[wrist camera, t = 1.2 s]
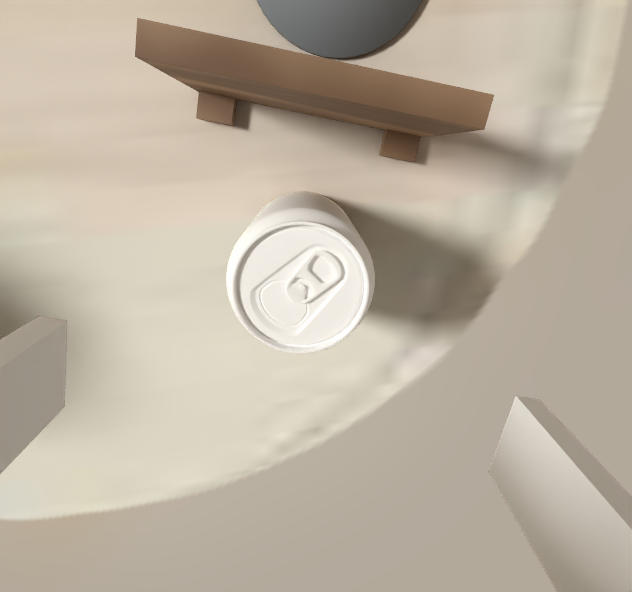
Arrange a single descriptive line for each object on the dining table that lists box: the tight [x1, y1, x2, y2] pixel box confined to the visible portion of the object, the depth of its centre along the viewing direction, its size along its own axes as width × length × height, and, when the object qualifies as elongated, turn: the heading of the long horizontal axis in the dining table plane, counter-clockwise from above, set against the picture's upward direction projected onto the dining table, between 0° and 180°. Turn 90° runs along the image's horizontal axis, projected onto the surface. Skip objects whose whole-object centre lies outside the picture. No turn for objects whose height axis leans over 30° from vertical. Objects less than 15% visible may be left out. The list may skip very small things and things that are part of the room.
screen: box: [135, 18, 494, 162], centre depth 26 cm, size 5×16×12 cm, turn 79°
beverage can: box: [226, 192, 375, 354], centre depth 29 cm, size 8×8×12 cm
